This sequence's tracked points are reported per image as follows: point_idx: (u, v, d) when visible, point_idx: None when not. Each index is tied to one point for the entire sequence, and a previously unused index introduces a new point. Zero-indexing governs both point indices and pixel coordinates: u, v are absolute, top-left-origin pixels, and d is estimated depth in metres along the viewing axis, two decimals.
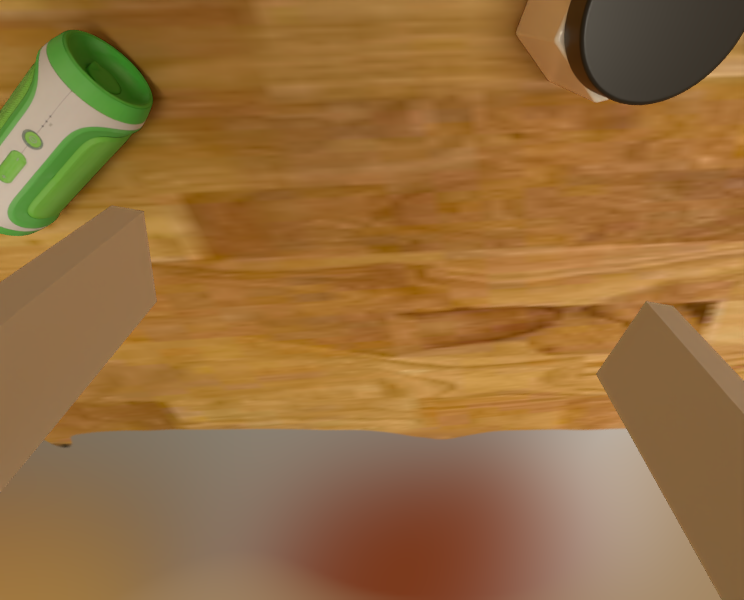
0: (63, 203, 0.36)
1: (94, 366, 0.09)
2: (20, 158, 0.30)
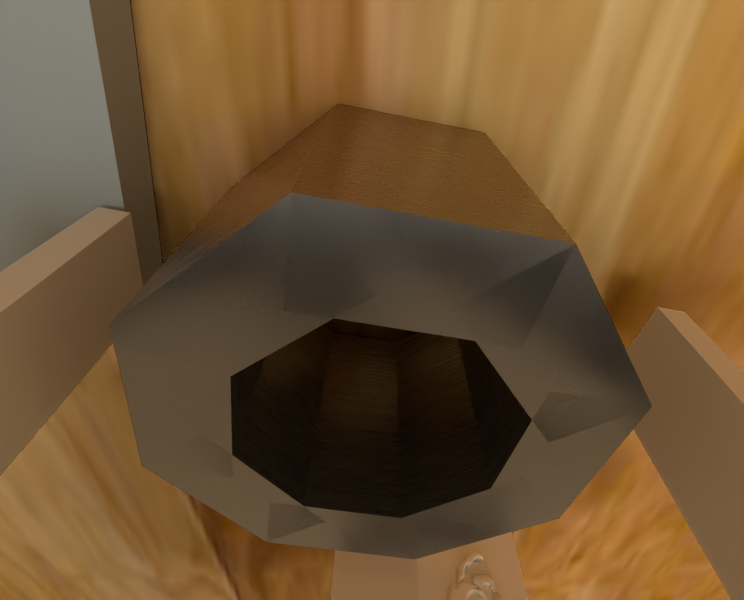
0: None
1: (79, 370, 0.09)
2: None
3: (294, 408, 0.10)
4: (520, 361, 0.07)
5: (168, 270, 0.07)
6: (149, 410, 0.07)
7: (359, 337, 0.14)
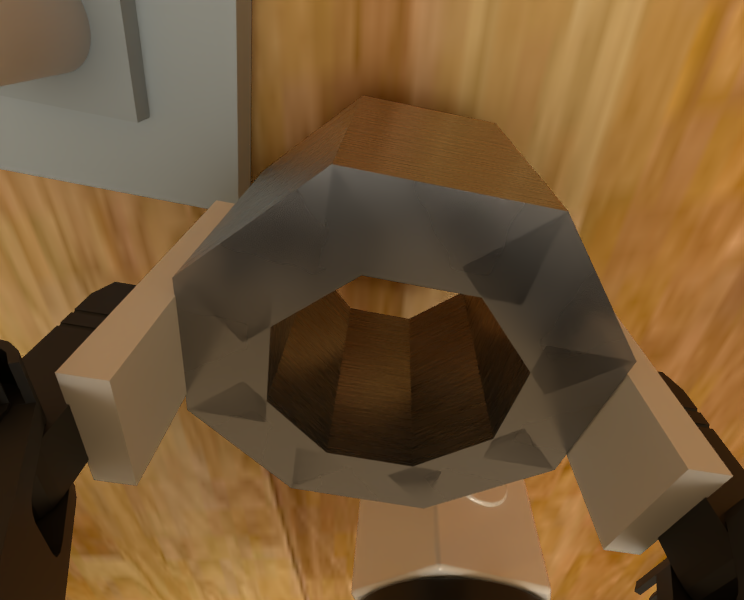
0: None
1: None
2: None
3: (317, 370, 0.11)
4: (520, 317, 0.08)
5: (220, 234, 0.08)
6: (198, 357, 0.09)
7: (375, 313, 0.15)
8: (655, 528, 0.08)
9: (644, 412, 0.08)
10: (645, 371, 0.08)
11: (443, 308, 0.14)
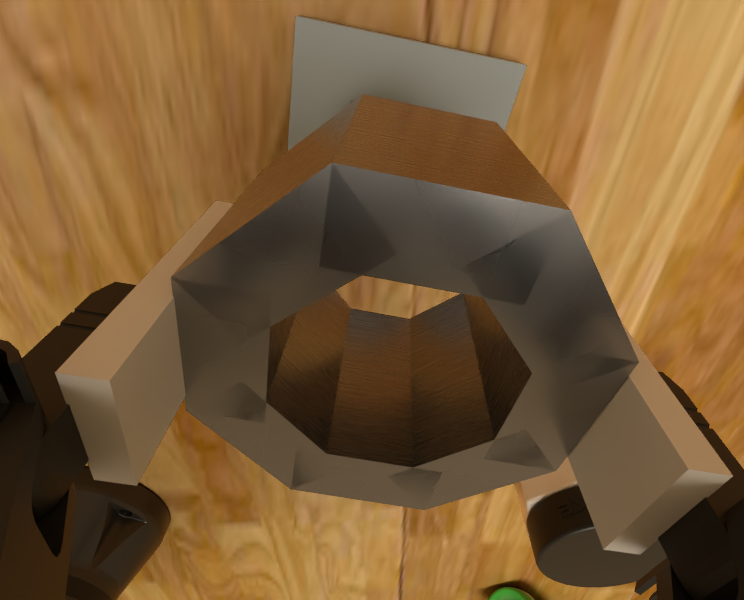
0: None
1: None
2: None
3: (317, 370, 0.11)
4: (522, 317, 0.07)
5: (219, 233, 0.08)
6: (197, 357, 0.09)
7: (375, 313, 0.15)
8: (655, 528, 0.08)
9: (644, 412, 0.08)
10: (645, 371, 0.08)
11: (443, 308, 0.14)
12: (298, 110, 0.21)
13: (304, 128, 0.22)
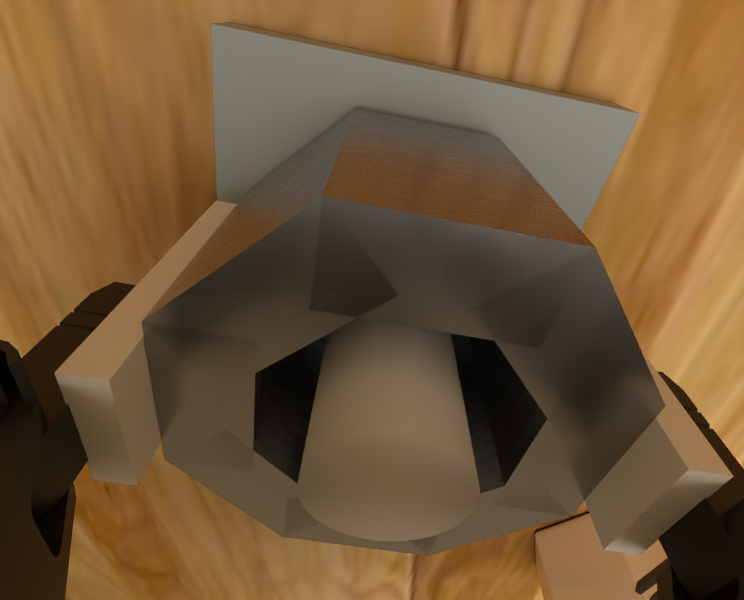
0: None
1: None
2: None
3: (310, 406, 0.11)
4: (537, 360, 0.07)
5: (196, 270, 0.07)
6: (175, 405, 0.08)
7: None
8: (655, 528, 0.08)
9: None
10: None
11: None
12: (231, 186, 0.12)
13: None
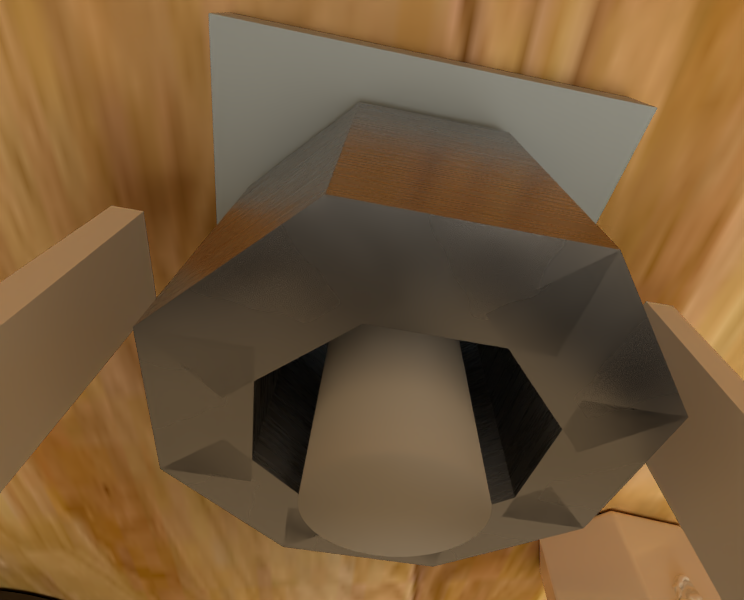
0: None
1: (94, 365, 0.09)
2: None
3: (312, 411, 0.10)
4: (554, 369, 0.06)
5: (192, 271, 0.07)
6: (170, 413, 0.07)
7: None
8: None
9: None
10: None
11: None
12: (230, 182, 0.12)
13: None
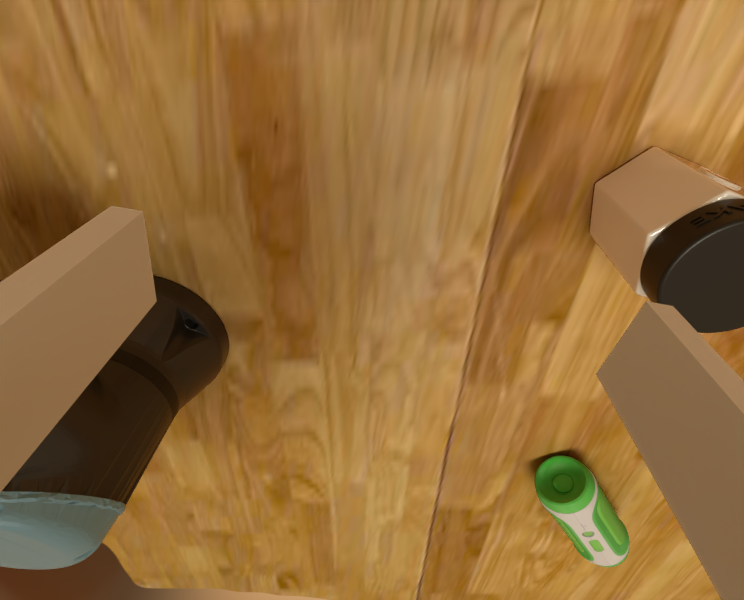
0: (620, 524, 0.54)
1: (94, 365, 0.09)
2: (594, 541, 0.51)
3: None
4: None
5: None
6: None
7: None
8: None
9: None
10: None
11: None
12: None
13: None
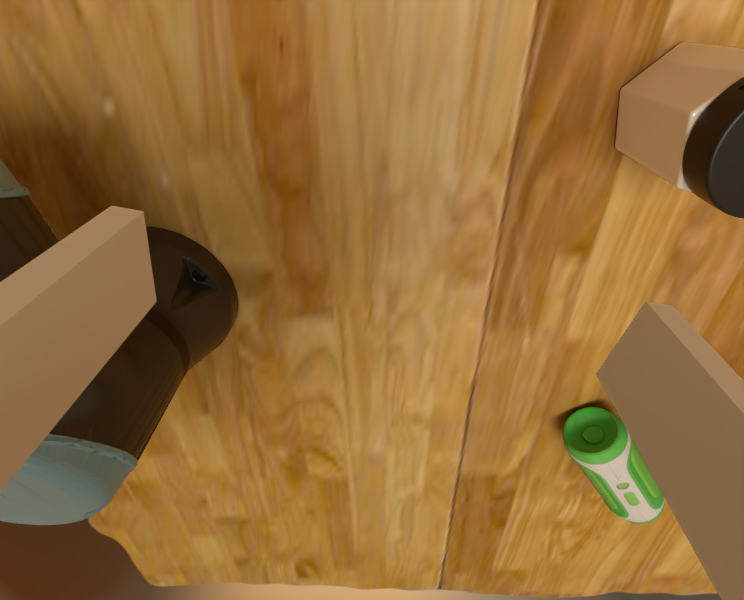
0: None
1: (94, 366, 0.09)
2: (629, 494, 0.49)
3: None
4: None
5: None
6: None
7: None
8: None
9: None
10: None
11: None
12: None
13: None
